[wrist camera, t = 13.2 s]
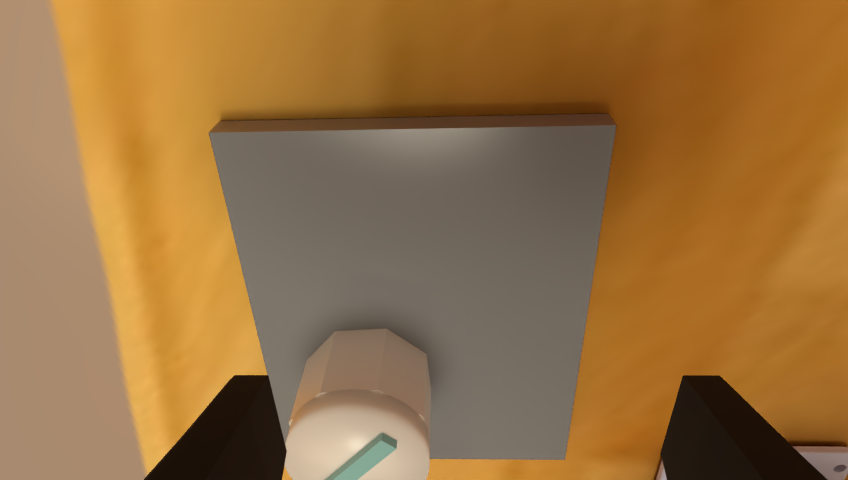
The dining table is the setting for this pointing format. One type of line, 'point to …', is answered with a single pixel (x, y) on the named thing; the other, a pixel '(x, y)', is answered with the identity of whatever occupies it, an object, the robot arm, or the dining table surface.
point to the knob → (361, 410)
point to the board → (428, 257)
